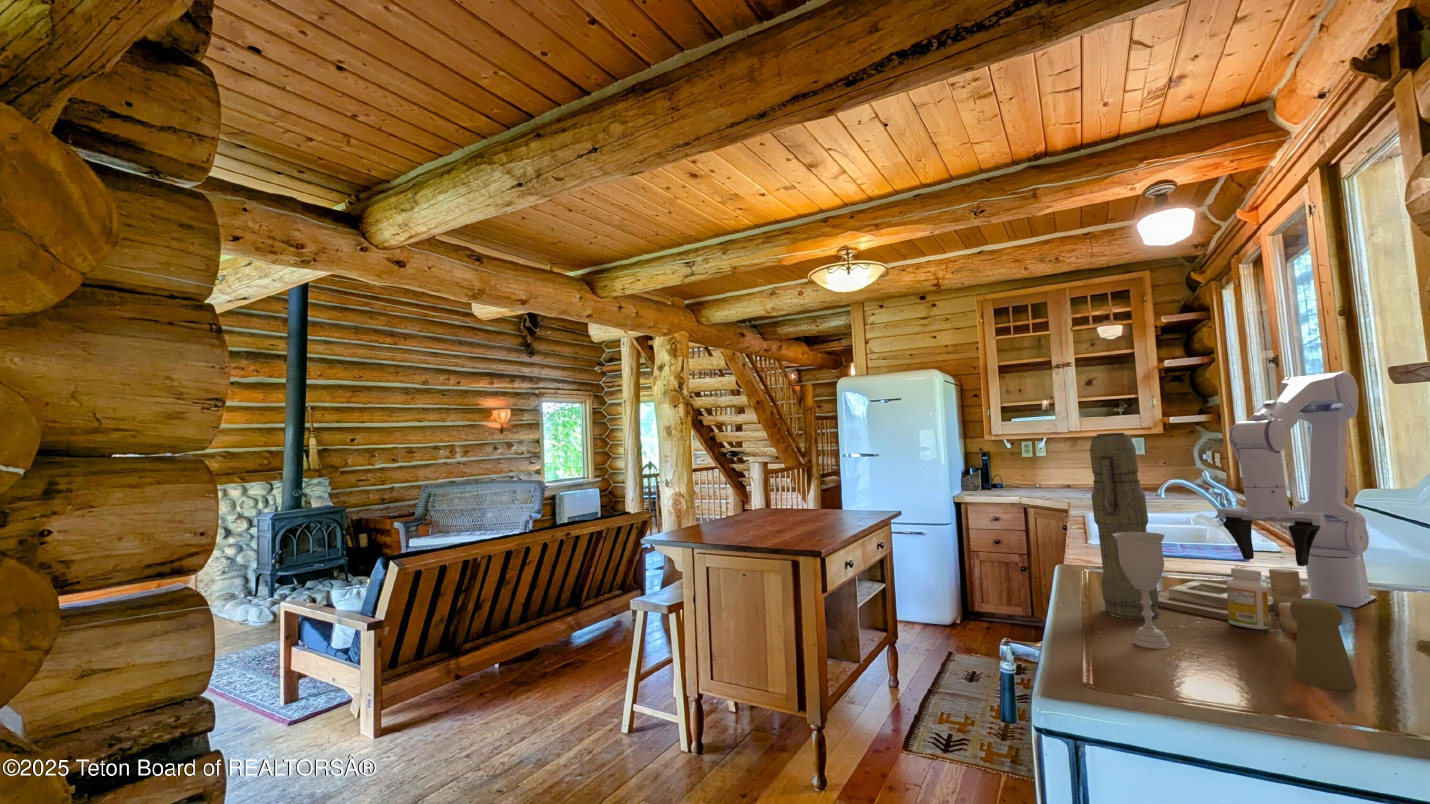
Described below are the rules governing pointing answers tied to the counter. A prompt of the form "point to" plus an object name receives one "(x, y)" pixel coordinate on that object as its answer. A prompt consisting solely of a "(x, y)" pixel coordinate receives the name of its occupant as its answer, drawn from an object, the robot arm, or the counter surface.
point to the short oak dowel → (1287, 618)
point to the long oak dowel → (1284, 586)
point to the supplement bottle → (1247, 599)
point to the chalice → (1143, 577)
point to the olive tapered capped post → (1321, 646)
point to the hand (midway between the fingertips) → (1274, 561)
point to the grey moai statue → (1118, 519)
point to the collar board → (1198, 606)
